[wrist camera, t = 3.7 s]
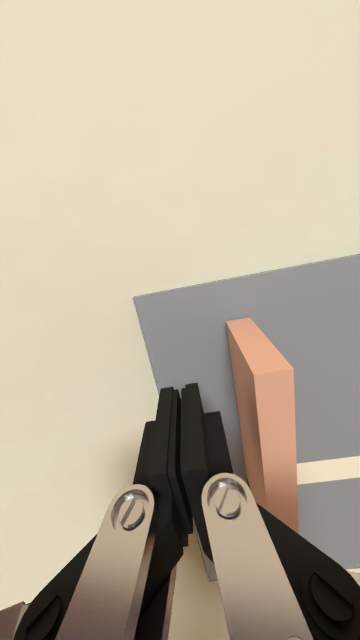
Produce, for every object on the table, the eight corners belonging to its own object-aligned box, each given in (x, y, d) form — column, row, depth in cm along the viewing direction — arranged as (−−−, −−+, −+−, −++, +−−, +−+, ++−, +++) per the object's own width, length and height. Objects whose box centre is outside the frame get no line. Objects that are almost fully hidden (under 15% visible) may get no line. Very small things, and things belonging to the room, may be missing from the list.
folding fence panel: (264, 472, 15) (300, 573, 10) (246, 474, 15) (273, 575, 11) (249, 317, 11) (293, 368, 7) (225, 321, 11) (253, 374, 7)
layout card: (436, 556, 19) (440, 561, 18) (208, 576, 20) (209, 581, 20) (538, 219, 10) (549, 219, 10) (133, 296, 12) (132, 298, 11)
